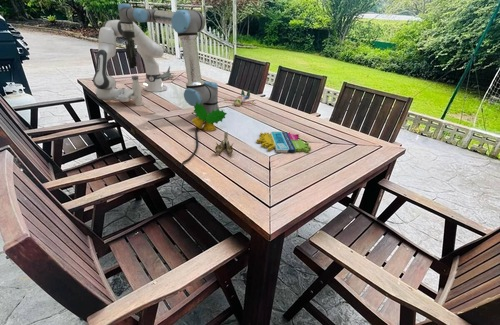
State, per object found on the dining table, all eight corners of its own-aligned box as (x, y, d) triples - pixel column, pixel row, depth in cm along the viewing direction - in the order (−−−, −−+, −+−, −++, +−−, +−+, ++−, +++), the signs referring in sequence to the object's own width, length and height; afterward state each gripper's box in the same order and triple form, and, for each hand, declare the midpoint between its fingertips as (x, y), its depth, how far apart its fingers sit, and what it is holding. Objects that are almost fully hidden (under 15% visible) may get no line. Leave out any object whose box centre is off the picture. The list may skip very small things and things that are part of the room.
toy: (261, 91, 228) (254, 99, 202) (261, 99, 231) (253, 108, 205) (231, 87, 233) (220, 95, 207) (230, 95, 236) (219, 104, 210)
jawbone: (234, 135, 144) (233, 125, 135) (233, 160, 138) (232, 151, 129) (217, 135, 144) (216, 125, 135) (216, 160, 138) (214, 150, 129)
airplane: (145, 76, 282) (144, 66, 276) (174, 74, 295) (174, 65, 290) (151, 85, 253) (150, 74, 248) (183, 83, 266) (183, 72, 261)
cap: (131, 79, 186) (130, 76, 185) (132, 78, 190) (132, 75, 189) (137, 79, 186) (137, 76, 185) (139, 78, 190) (138, 75, 189)
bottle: (134, 105, 194) (129, 77, 184) (136, 103, 199) (131, 75, 189) (141, 105, 195) (137, 77, 185) (143, 103, 200) (139, 76, 190)
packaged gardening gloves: (313, 150, 142) (258, 149, 139) (312, 153, 143) (258, 152, 140) (301, 132, 164) (254, 130, 161) (301, 134, 165) (254, 133, 162)
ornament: (218, 133, 171) (224, 110, 169) (221, 134, 163) (227, 111, 161) (186, 125, 162) (192, 101, 160) (189, 126, 155) (195, 101, 153)
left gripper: (113, 94, 183) (133, 95, 184) (124, 87, 200) (142, 88, 201) (114, 103, 186) (134, 104, 187) (125, 95, 203) (143, 96, 204)
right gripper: (130, 32, 165) (135, 70, 176) (137, 30, 182) (142, 65, 193) (117, 31, 164) (123, 69, 175) (126, 29, 181) (131, 64, 192)
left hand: (138, 96), depth 194 cm, fingers closed on bottle, 5 cm apart
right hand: (133, 67), depth 184 cm, fingers open, 7 cm apart
